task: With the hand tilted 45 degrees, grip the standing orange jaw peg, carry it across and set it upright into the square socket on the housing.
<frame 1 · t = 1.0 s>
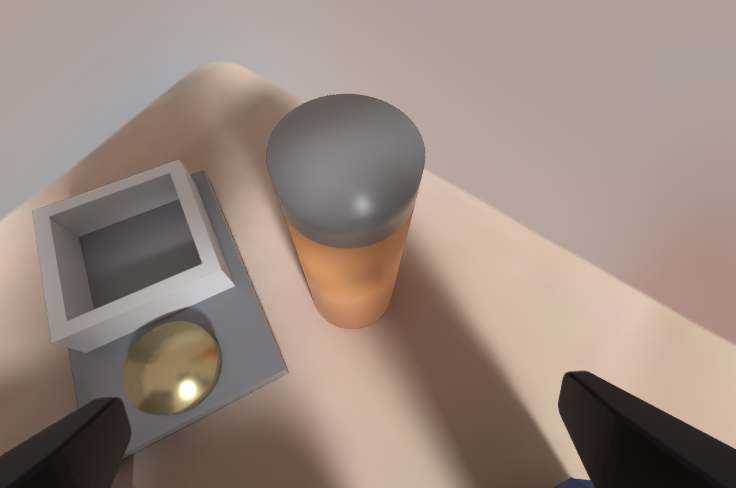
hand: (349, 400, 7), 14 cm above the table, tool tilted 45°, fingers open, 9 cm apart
jaw peg: (352, 289, 23), on the table
housing: (156, 265, 24), on the table
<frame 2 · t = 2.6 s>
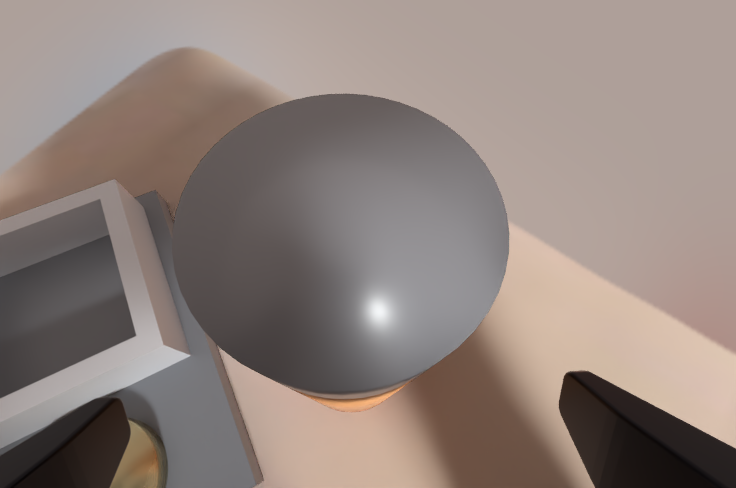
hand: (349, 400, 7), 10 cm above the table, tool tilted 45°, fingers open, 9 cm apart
jaw peg: (352, 353, 17), on the table
housing: (88, 321, 18), on the table
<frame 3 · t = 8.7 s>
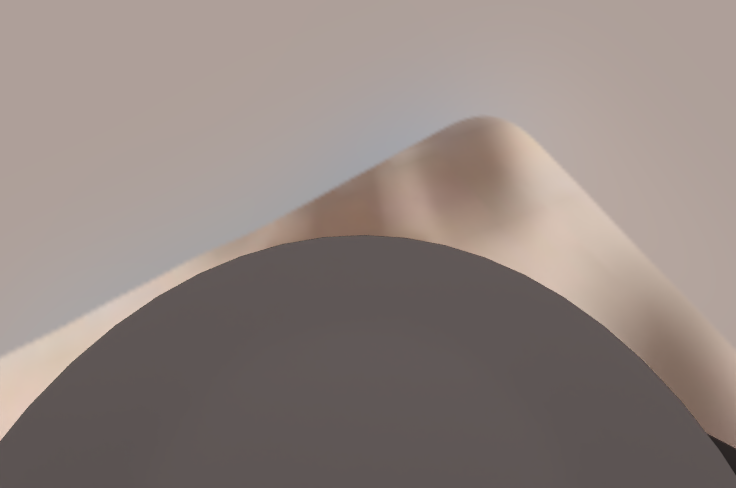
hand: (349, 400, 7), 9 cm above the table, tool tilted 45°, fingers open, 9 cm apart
jaw peg: (354, 450, 14), point 1 cm above the table, touching housing
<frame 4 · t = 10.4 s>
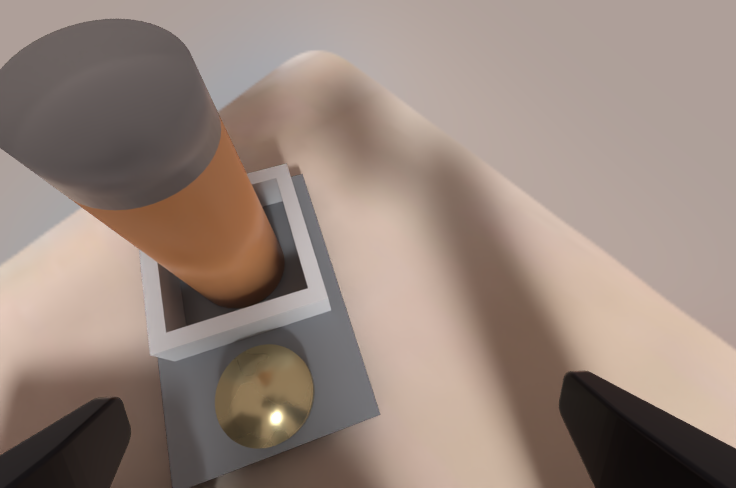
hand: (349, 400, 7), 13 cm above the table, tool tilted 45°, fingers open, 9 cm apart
jaw peg: (240, 265, 21), point 1 cm above the table, touching housing
housing: (246, 272, 22), on the table
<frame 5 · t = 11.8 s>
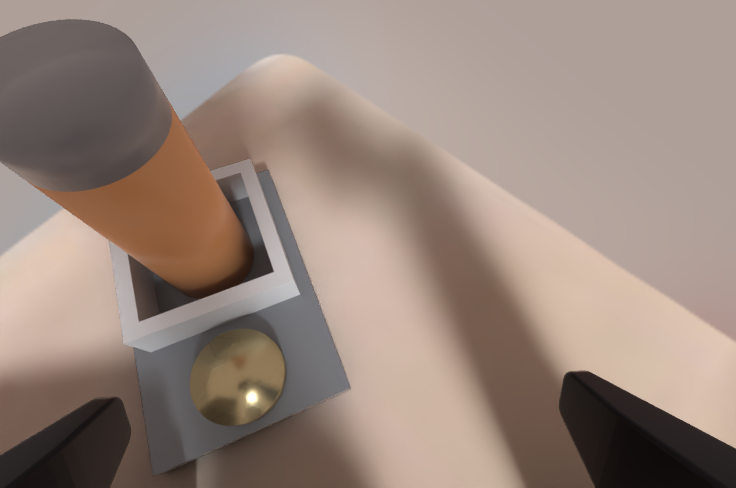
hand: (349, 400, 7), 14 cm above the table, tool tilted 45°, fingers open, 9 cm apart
jaw peg: (211, 258, 22), point 1 cm above the table, touching housing
housing: (218, 265, 23), on the table
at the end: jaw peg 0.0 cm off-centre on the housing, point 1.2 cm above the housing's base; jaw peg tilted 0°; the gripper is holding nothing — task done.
